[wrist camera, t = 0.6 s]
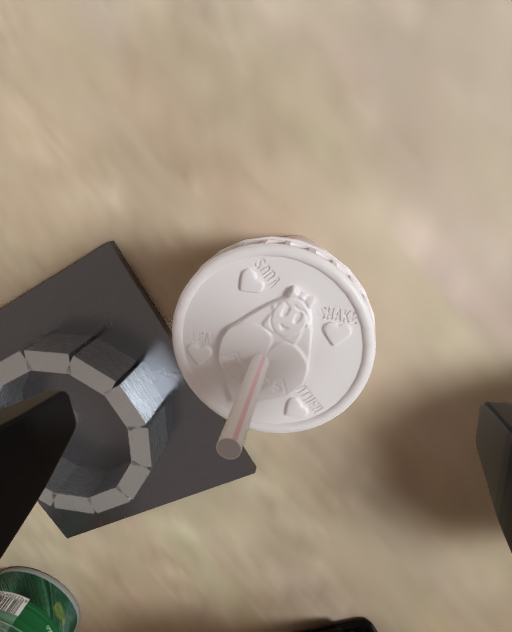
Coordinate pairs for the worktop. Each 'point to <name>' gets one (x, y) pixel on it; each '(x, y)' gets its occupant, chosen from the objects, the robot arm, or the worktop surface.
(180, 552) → the worktop surface
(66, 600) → the canned tomato
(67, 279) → the duct collar
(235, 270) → the smoothie
